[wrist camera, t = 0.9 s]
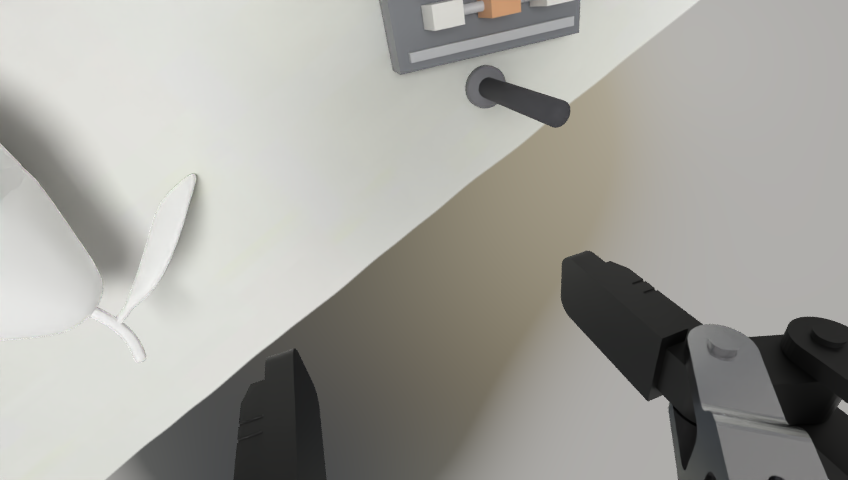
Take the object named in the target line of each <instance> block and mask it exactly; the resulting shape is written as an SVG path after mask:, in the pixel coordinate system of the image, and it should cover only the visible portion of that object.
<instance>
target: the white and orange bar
mask: <svg viewBox="0 0 848 480" xmlns="http://www.w3.org/2000/svg"><path fill="white" fill-rule="evenodd" d="M528 1H530V7H534V6H551V5H555V4H560V3H564V2H569V1H573V0H477V2H472V3H468V4H463V0H445V1H440V2H435V3H431V4H426V5H421V9H422V16H423V23H424V30H432V31H437V30H442V29H446V28H451V27H455V26H460V25H464V24H465V17H464V15H468V14H473V13H477V12H478V18H496V17H501V16H505V15H510V14H514V13H519V12H521V3H524V2H528Z"/></svg>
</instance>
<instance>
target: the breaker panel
mask: <svg viewBox="0 0 848 480" xmlns="http://www.w3.org/2000/svg"><path fill="white" fill-rule="evenodd" d="M379 1H380V6H381V11H382V17H383V22H384V27H385V32H386V37H387V42H388V47H389V53H390V58H391V63H392V68H393V71H395V72H397V73H399V74H405V73H410V72H414V71H418V70H422V69H427V68H431V67H435V66H439V65H443V64H448V63H452V62H456V61H460V60H465V59H469V58H473V57H477V56H482V55H486V54H490V53H494V52H499V51H503V50H507V49H511V48H516V47H520V46H524V45H528V44H532V43H537V42H541V41H545V40H549V39H554V38H558V37H562V36H566V35H571V34H575V33H579V18H580V0H573V1H569V2H564V3H560V4H555V5H551V6H534V7H530V1H528V2H524V3H521V12H519V13H514V14H510V15H505V16H501V17H496V18H478V12H477V13H473V14H468V15H464V17H465V24H464V25H460V26H455V27H451V28H446V29H442V30H437V31H432V30H424V23H423V16H422V9H421V5H426V4H431V3H435V2H440V1H445V0H379ZM472 2H477V0H463V4H468V3H472Z"/></svg>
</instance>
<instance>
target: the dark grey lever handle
mask: <svg viewBox="0 0 848 480" xmlns="http://www.w3.org/2000/svg"><path fill="white" fill-rule="evenodd" d="M466 95H467V97H468V99H469V101H470V102H471V103H472V104H474V105H476V106H478V107H480V108H490V107H493V106H494V105H496V104H500V105H502V106H505V107H507V108H509V109H512V110H514V111H516V112H519V113H521V114H523V115H526V116H528V117H530V118H533V119H535V120H537V121H540V122H542V123H544V124H547V125H549V126H552V127H555V128H556V127H560V126H562V125H563V124H565V122H566V121H567V119H568V118H569V115H570V106H569V104H568V103H567V102H566V101H564V100H560V99H557V98H554V97H551V96H548V95H545V94H541V93H538V92H535V91H532V90H529V89H526V88H522V87H519V86H516V85H513V84H510V83H507V82H505V77H504V75H503V73H502V72H501V71H500V70H499V69H497V68H495V67H492V66H488V65H483V66H480V67H477V68H476V69H474V70H473V71H472V72H471V74H470V75H469V77H468V79H467V82H466Z"/></svg>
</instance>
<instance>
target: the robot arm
mask: <svg viewBox="0 0 848 480" xmlns="http://www.w3.org/2000/svg"><path fill="white" fill-rule="evenodd" d="M561 283H562V284H561V301H562V304H563V307H564V309H565V311H566V313H567V314H568V316H569V317H570V318H571V319H572V320H573V321H574V322H575V323H576V324H577V326H578V327H579V328H580V329H581V330H582V331H583V332H584V333H585V334H586V335H587V336H588V337H589V338H590V340H591V341H592V342H593V343H594V344H595V345H596V346H597V347H598V348H599V349H600V350H601V351H602V353H603V354H604V355H605V356H606V357H607V358H608V359H609V360H610V361H611V362H612V363H613V364H614V365H615V367H616V368H618V370H619V371H620V372H621V373H622V374H623V375H624V376H625V377H626V378H627V379H628V381H629V382H630V383H631V384H632V385H633V386H634V387H635V388H636V389H637V390H638V391H639V392H640V394H641V395H643V397H644V398H645V399H646V400H647V401H650V400H652V399H655V398H657V397H659V396H661V395H664V397H666V399H667V400H668V401H669V402H670V403H669V407H668V408H669V418H670V425H671V431H672V438H673V446H674V453H675V460H676V467H677V475H678V480H828V479H829V480H848V415H847V414H845V413H844V412H843V411H842V410H840V409H839V408H838V407H837V406H838V405H839V403H840V402H841V400H844V401H845V402H846V403H848V327H847V326H845V325H843V324H840V323H838V322H835V321H831V320H828V319H824V318H818V317H800V318H797V319H794V320H792V321H791V322H790V323H789V325H788V327H787V329H786V331H785V333H784V335H772V336H758V337H747V336H745V335H744V334H742V333H741V332H739V331H736V330H734V329H732V328H729V327H726V326H721V325H714V324H705V325H703V324H702V323H700V322H699V321H697V320H696V319H695V318H694V317H692V316H691V315H689V314H688V313H687V312H686V311H684V310H683V309H682V308H680V307H679V306H678V305H676V304H675V303H674V302H672V301H671V300H670V299H668V298H667V297H666V296H665V295H663V294H662V293H660V292H659V291H658V290H657V291H655V289H654V287H652V286H651V285H650V284H649V283H647V282H646V281H645V282H644V281H643V279H642V278H641V277H639V276H638V275H637V274H635V273H634V272H633V271H631V270H630V269H628V268H626V267H624V266H621V265H619V264H616V263H613V262H611V261H609V262H604V261H603V260H602V259H600V258H599V257H598V256H596V255H595V254H594V253H592V252H590V251H585V252H582V253H579V254H576V255H573V256H570V257H567V258H565V259H564V260H563V262H562V279H561ZM239 424H240V427H239V429H238V443H237V450H236V459H235V470H234V480H327V479H326V469H325V459H324V448H323V439H322V429H321V418H320V408H319V401H318V397H317V393H316V390H315V387H314V384H313V382H312V380H311V378H310V376H309V374H308V372H307V369H306V367H305V365H304V363H303V361H302V359H301V357H300V355H299V353H298V351H297V350H296V349H291V350H288V351H285V352H282V353H279V354H276V355H273V356H270V357H267V358H266V363H265V380H262V381H259V382H256V383H253V384H251V385H250V387H249V389H248V391H247V393H246V395H245V397H244V399H243V401H242V403H241V408H240V418H239Z"/></svg>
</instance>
